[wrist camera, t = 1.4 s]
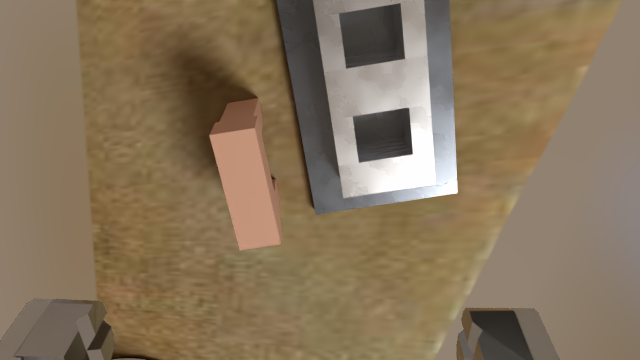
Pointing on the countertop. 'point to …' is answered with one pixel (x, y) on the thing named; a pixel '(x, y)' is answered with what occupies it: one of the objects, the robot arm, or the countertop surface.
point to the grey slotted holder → (372, 98)
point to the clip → (247, 175)
